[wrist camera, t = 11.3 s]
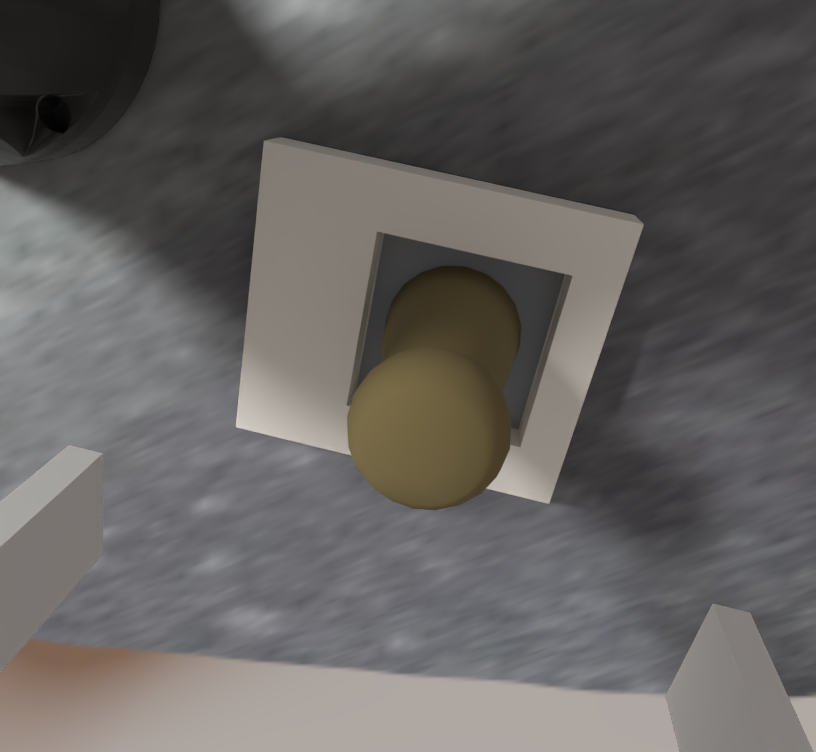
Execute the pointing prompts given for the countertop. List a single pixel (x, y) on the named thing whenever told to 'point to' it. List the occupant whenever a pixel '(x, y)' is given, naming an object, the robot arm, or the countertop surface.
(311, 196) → the socket plate
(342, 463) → the countertop surface
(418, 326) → the cork
